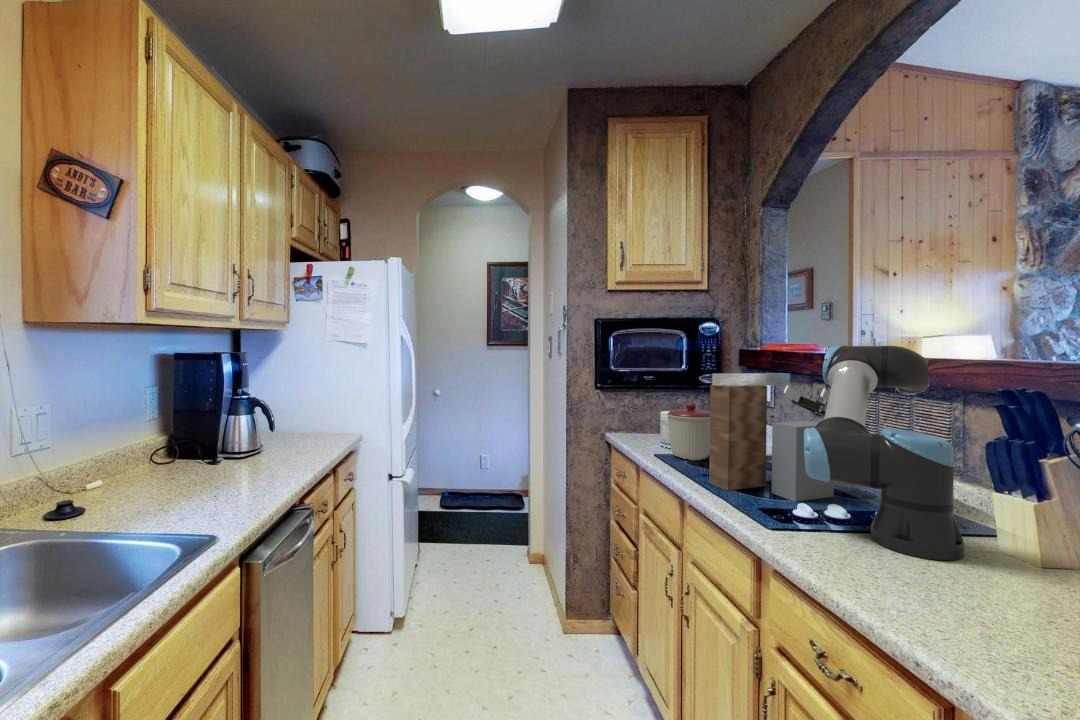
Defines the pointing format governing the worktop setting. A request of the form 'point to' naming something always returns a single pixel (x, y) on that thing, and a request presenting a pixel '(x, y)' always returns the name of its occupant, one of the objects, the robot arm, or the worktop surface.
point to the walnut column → (738, 436)
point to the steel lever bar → (750, 379)
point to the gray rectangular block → (794, 464)
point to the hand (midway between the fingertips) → (803, 390)
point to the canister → (689, 432)
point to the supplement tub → (664, 429)
